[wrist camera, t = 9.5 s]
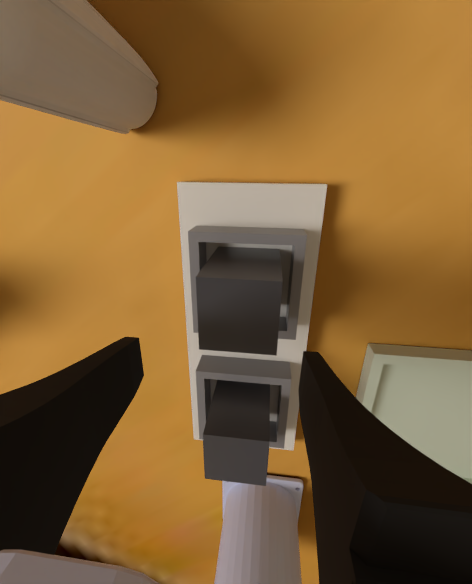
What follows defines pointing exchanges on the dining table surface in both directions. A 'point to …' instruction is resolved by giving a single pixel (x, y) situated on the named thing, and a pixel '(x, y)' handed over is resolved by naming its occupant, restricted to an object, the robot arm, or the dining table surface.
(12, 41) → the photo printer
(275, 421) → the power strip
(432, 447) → the pale green tray
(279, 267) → the dark grey upright box
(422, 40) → the dining table surface
